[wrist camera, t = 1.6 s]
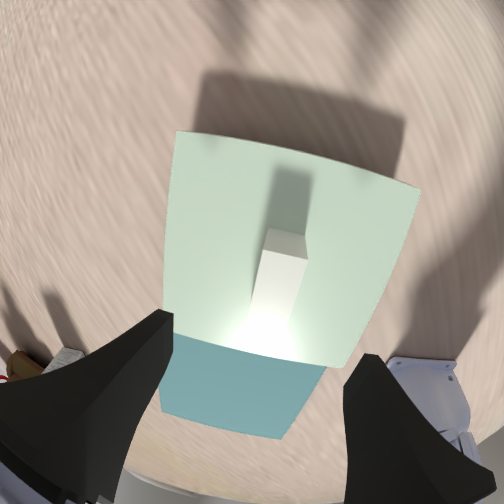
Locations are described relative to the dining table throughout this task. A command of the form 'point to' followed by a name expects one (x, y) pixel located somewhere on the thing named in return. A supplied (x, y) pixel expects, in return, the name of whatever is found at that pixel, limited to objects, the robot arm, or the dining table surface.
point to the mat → (235, 388)
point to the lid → (278, 247)
